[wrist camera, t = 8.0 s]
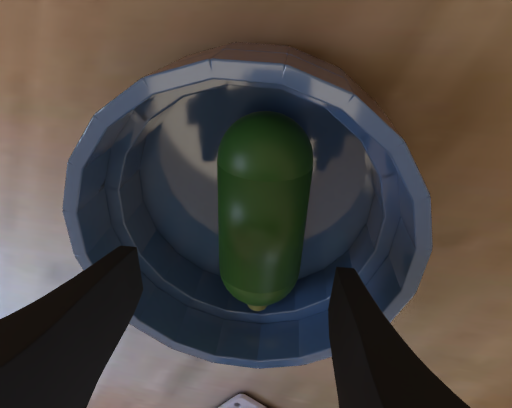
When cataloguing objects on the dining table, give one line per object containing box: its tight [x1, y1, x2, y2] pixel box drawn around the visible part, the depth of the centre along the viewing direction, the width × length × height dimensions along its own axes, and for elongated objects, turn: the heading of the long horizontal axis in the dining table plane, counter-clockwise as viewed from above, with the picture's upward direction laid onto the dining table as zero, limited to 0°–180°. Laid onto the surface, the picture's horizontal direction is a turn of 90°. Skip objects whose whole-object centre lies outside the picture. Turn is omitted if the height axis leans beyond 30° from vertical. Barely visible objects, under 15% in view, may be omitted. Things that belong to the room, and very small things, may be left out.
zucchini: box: [217, 111, 313, 311], centre depth 16 cm, size 10×4×4 cm, turn 178°
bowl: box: [62, 42, 433, 369], centre depth 16 cm, size 14×14×5 cm
